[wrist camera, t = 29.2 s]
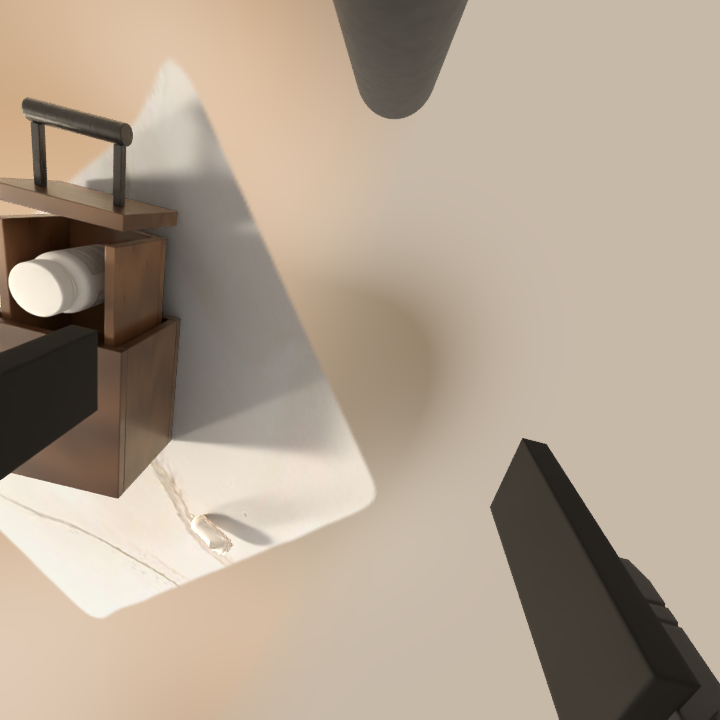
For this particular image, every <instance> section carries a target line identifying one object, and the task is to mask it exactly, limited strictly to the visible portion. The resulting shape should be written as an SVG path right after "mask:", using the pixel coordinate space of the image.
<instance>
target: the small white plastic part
mask: <svg viewBox="0 0 720 720" xmlns="http://www.w3.org/2000/svg"><path fill="white" fill-rule="evenodd" d="M192 517H193V516H192ZM193 518H194V517H193ZM191 527H192V529H193V530H194V531H195V532H196V533H197V534H198V535H199V536H200V537H201V538H202V539H203V540H204V541H205V542H206V543H207V544H208V546H209V548H210V549H211V550H212V551H214V550H216V551H217V552H218V553H219V554H220V553H222V555H223V556H224V555H225V554H226V553H227V552H228V551H229V550H230V548H231V547H232V546H233V544H232V543H230V542H231V540H230V539H229V538H228V537H227V536H226V535H225V534H224V533H222V532H221V531H220V530H219V529H218V528H217V527H216V526H215V525H214V524H213V523H212V522H211V521H210V520H209V519H207V518H206V516H204V515H199V516H197V517H195V518H194V519H193V521H192V523H191Z"/></svg>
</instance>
